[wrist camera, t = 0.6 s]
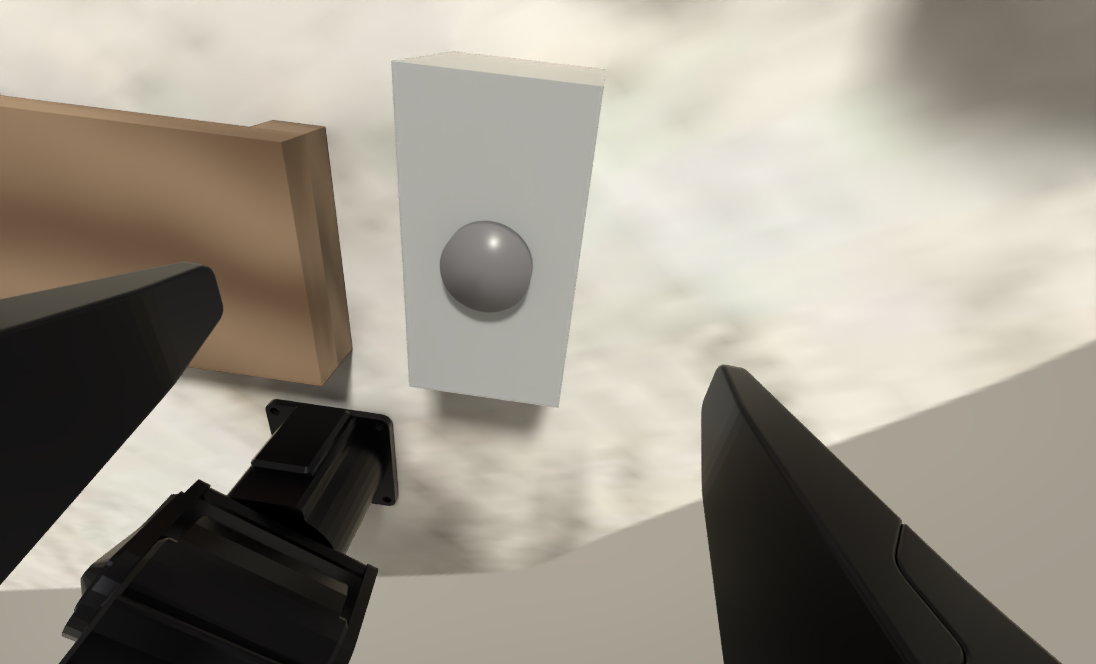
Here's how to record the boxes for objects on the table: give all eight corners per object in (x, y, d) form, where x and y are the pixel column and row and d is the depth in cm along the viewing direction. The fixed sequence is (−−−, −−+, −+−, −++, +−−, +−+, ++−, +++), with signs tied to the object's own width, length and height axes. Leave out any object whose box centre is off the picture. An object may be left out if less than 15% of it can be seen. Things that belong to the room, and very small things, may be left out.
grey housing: (569, 321, 22) (557, 419, 17) (454, 305, 23) (403, 397, 17) (605, 68, 17) (603, 88, 12) (454, 51, 17) (382, 62, 12)
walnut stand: (352, 348, 24) (322, 386, 22) (52, 305, 25) (-12, 337, 22) (324, 126, 19) (281, 141, 16) (-55, 78, 20) (-154, 86, 17)
